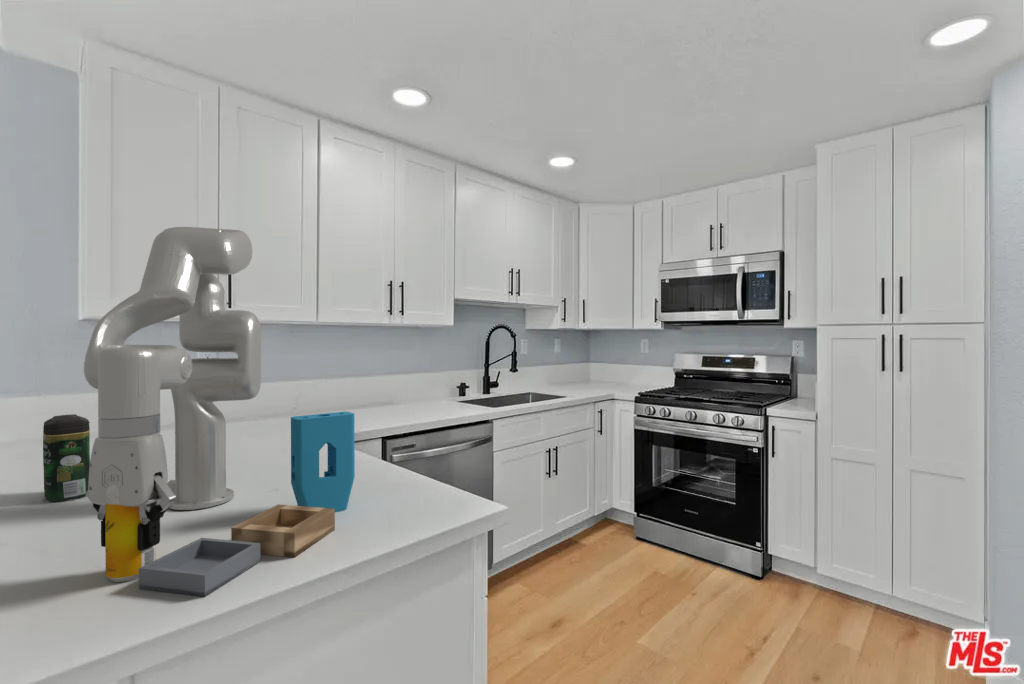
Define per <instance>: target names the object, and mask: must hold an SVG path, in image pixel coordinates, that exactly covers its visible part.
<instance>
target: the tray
mask: <svg viewBox="0 0 1024 684" xmlns="http://www.w3.org/2000/svg"><path fill="white" fill-rule="evenodd" d="M261 555H262V554H260V543H253V542H242V541H232V540H230V539H229V540H228V539H222V538H221V539H220V538H210V537H209V538H207V537H200V538H198V539H196V540H194V541H192V542H190V543H188V544H186V545H183V546H182V547H180V548H177V549H176V550H173V551H171V552H169V553H167V554H165V555H163V556H161V557H159V558H156V560H155V561H153V562H151V563H149V564H147V565H144V566H142V567H140V568H139V578H138V589H139V590H143V591H144V590H145V591H153V592H160V593H167V594H168V593H169V594H178V595H184V596H185V595H186V596H193V597H194V596H195V597H201V598H202V597H203V598H205V597H207V596H209V595H210V594H212V593H214V592H215V591H217V590H218V589H221V587H223V586H224V585H227V583H230V582H231V581H232V580H234V579H236V578H237V577H239V576H240V575H242V574H243V573H245V572H247V571H248V570H250V569H251V568H254V566H256V565H257V564H259V563H261V562H262V561H261V559H262V558H261Z"/></svg>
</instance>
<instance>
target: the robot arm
mask: <svg viewBox="0 0 1024 684" xmlns="http://www.w3.org/2000/svg"><path fill="white" fill-rule="evenodd" d="M252 245H253V244H252V240H251V238H250V237H249V235H248V234H247V233H246V232H244V231H243V230H240V229H239V230H238V229H231V228H230V229H229V228H228V229H227V228H213V227H212V228H210V227H197V226H196V227H195V226H194V227H193V226H176V227H175V226H173V227H168V228H165V229H163V231H161V232H159V234H157V235H156V236H155V237H154V240H153V242H152V244H151V249H150V253H149V255H148V260H147V261H146V266H145V269H144V274H143V277H142V280H141V283H140V287H139V290H138V291H137V292H136V293H134V294H132V295H130V296H128V297H126V299H124V300H122V301H121V302H119V303H118V304H117V305H115V306H113V308H111V310H109V311H108V312H107V313H105V314H104V315H103V317H102V318H101V319H100V320H98V322H97V324H96V325H95V327H94V329H93V331H92V334H91V337H90V340H89V344H88V346H87V350H86V353H85V357H84V362H83V374H84V378H85V381H86V382H87V383H88V385H89V386H90V387H92V388H94V389H97V420H98V421H97V422H98V423H97V424H98V425H97V426H98V428H97V429H98V430H97V431H98V432H97V437H96V438H94V441H93V444H92V449H91V452H90V467H89V481H88V491H87V492H86V495H85V497H87V499H89V502H91V504H92V507H93V508H94V509H95V511H96V512H97V516H96V517H97V518H96V519H98V520H99V521H100V546H101V547H103V548H105V505H106V489H107V488H108V487H109V486H110V485H116V486H117V487H116V488H117V489H118V488H120V489H118V490H119V505H120V506H124V507H137V510H138V513H139V516H140V519H141V522H142V523H140V524H138V527H137V532H138V550H140V551H143V550H145V549H148V548H150V547H152V546H154V545H156V546H157V545H158V544H160V542H161V519H162V518H163V517H164V515H165V513H166V512H167V511H168V510H169V509H170V510H175V511H193V510H201V509H207V508H211V507H215V506H218V505H221V504H224V503H227V502H229V501H230V500H232V499H233V498H234V496H235V492H234V490H233V488H232V489H231V488H227V466H226V465H227V438H226V437H227V430H226V429H227V428H226V427H227V425H226V424H227V423H226V422H227V421H226V418H225V416H224V414H223V413H222V411H221V410H220V409H219V408H218V406H217V405H215V403H214V402H225V401H227V402H228V401H229V402H230V401H246V400H252V399H254V398H256V397H257V396H258V395H259V392H260V391H261V384H262V383H261V381H262V380H261V379H262V330H261V324H260V323H261V322H260V321H259V318H258V316H257V315H256V314H255V313H254V312H252V311H249V310H242V309H241V310H239V309H238V310H237V309H236V310H235V309H234V310H233V309H232V310H231V309H225V294H226V293H225V292H226V291H225V287H224V286H223V284H222V283H221V281H220V280H219V278H217V277H216V276H215V275H225V276H226V275H227V276H228V275H235V274H237V273H240V272H241V271H243V270H245V269H246V268H248V266H249V265H250V263H251V260H252V257H253V246H252ZM178 316H179V322H178V323H179V324H178V325H179V327H178V328H179V329H178V330H179V341H180V345H181V346H177V345H173V344H171V345H170V344H124V342H126V341H127V339H129V337H130V336H132V335H133V334H135V333H137V332H138V331H140V330H143V329H144V328H146V327H147V328H148V327H149V326H151V325H155V324H158V323H161V322H164V321H166V320H169V319H172V318H175V317H178ZM187 351H189V352H192V353H193V352H194V353H235V354H236V355H237V358H236V357H233V358H231V357H229V358H228V357H227V358H225V357H224V358H223V357H222V358H220V357H217V358H216V357H210V358H207V357H206V358H203V357H202V358H191V355H190V354H189V353H188V352H187ZM161 390H170V393H171V397H172V402H173V411H174V443H175V444H174V447H175V449H174V451H175V452H174V453H175V454H174V458H175V459H174V462H175V463H174V465H175V466H174V468H175V469H174V470H175V474H174V477H175V478H174V479H171V480H169V478H168V461H167V454H166V447H165V442H164V438H163V435H162V434H161ZM152 494H153V499H151V500H149V499H150V496H151V495H152ZM149 504H152V509H151V510H150V511H149V512H148V509H147V505H149Z"/></svg>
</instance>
